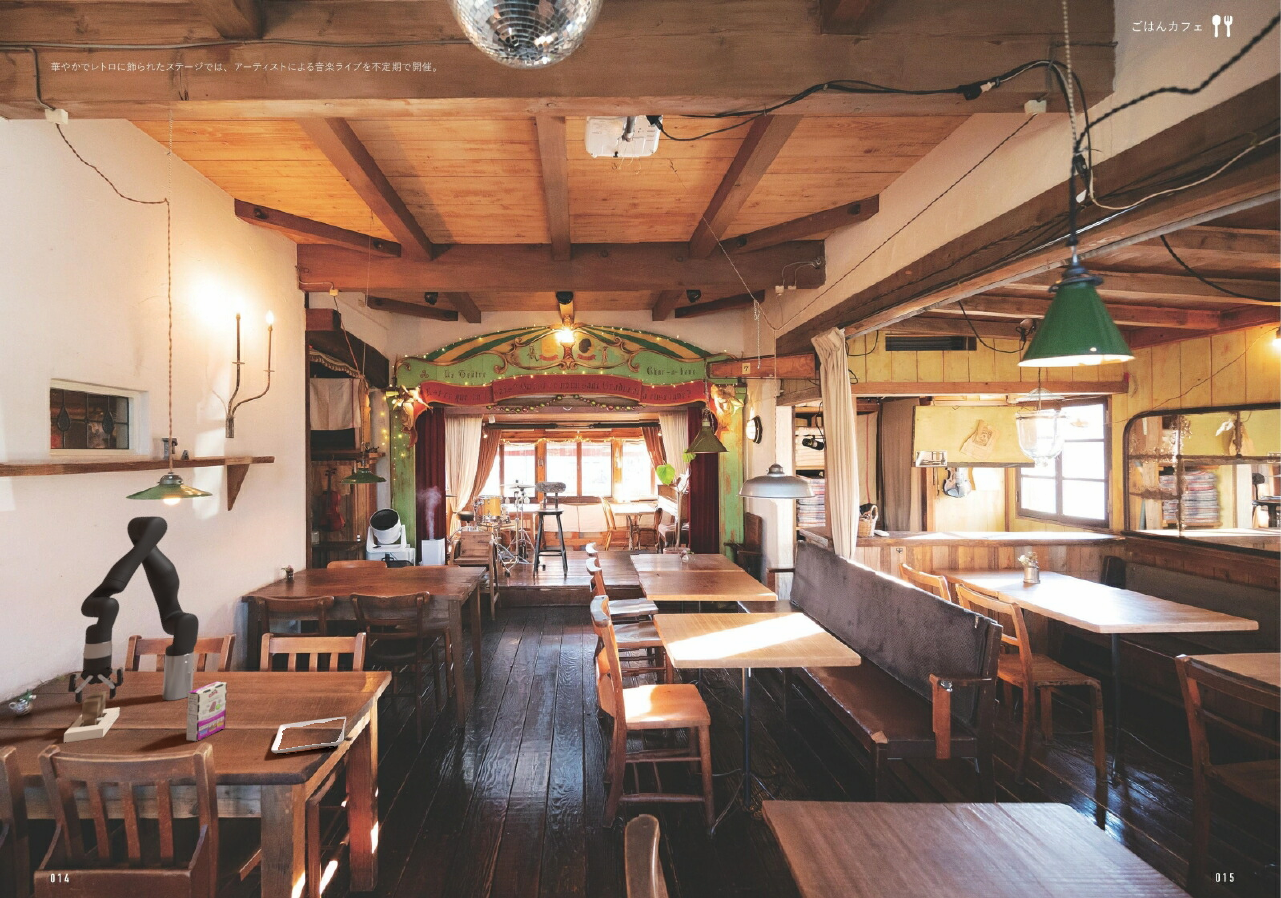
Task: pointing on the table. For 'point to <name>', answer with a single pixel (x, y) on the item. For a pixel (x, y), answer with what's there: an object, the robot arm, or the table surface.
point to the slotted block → (91, 727)
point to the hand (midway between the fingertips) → (95, 700)
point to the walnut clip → (93, 708)
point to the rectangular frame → (301, 724)
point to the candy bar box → (206, 710)
